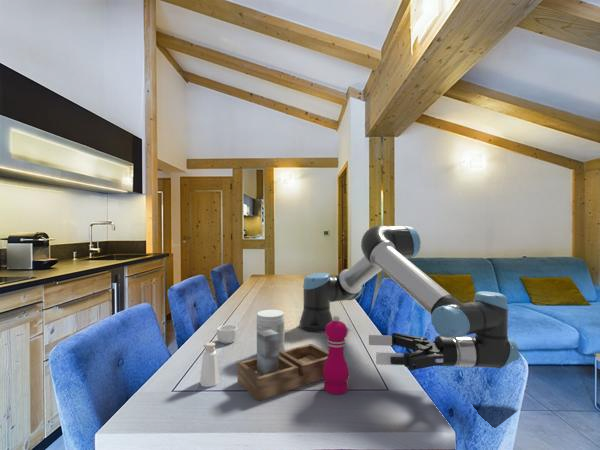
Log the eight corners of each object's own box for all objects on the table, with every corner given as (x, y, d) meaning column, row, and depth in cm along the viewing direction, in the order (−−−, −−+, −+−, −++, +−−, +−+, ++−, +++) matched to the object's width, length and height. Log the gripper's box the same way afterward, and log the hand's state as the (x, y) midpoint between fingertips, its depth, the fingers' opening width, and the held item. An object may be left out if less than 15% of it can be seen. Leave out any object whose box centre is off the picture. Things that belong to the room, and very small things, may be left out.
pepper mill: (320, 382, 92) (321, 312, 92) (345, 382, 93) (346, 311, 93) (324, 396, 85) (325, 319, 85) (352, 395, 86) (352, 319, 86)
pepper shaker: (212, 376, 96) (212, 339, 96) (223, 382, 92) (223, 343, 92) (195, 383, 92) (196, 344, 92) (207, 389, 88) (207, 348, 88)
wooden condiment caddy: (320, 357, 110) (320, 314, 110) (345, 370, 100) (346, 323, 100) (237, 381, 92) (237, 330, 93) (258, 401, 82) (258, 343, 82)
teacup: (233, 346, 120) (233, 331, 120) (213, 344, 122) (213, 330, 122) (241, 337, 130) (241, 323, 130) (223, 335, 131) (223, 322, 131)
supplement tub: (278, 348, 118) (278, 308, 118) (289, 358, 109) (289, 314, 110) (252, 353, 114) (253, 311, 114) (261, 363, 105) (262, 317, 105)
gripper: (474, 388, 74) (380, 384, 76) (436, 348, 99) (366, 345, 101) (474, 355, 74) (380, 351, 76) (436, 323, 99) (366, 321, 101)
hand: (372, 348), depth 88 cm, fingers open, 13 cm apart
